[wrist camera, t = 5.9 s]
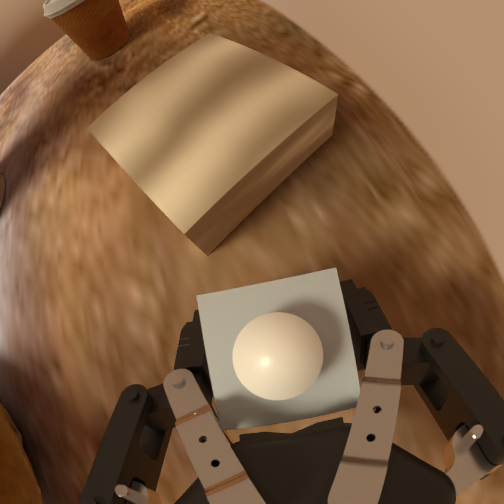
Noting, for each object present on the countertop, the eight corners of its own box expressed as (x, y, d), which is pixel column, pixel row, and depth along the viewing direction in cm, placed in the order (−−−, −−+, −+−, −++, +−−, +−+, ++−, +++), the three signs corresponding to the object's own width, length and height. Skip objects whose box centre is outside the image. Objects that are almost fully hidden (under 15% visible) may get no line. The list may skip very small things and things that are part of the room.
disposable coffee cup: (118, 63, 28) (75, -7, 16) (69, 73, 29) (26, 18, 18) (153, 21, 30) (123, -43, 18) (103, 31, 31) (71, -22, 20)
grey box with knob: (243, 398, 17) (193, 463, 7) (225, 301, 19) (158, 270, 9) (343, 379, 17) (398, 429, 7) (324, 281, 19) (359, 229, 9)
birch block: (116, 159, 24) (86, 128, 19) (221, 71, 25) (209, 32, 20) (208, 256, 20) (184, 234, 15) (331, 137, 21) (338, 94, 17)
